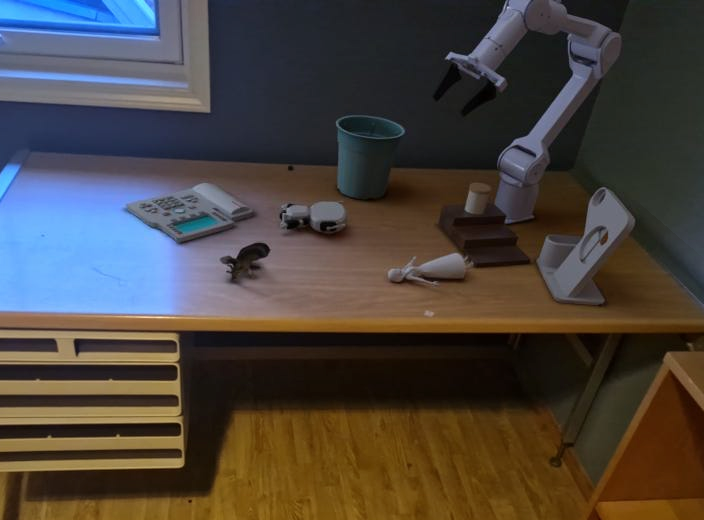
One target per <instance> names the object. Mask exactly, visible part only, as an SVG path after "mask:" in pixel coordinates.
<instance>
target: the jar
mask: <svg viewBox="0 0 704 520" xmlns="http://www.w3.org/2000/svg"><path fill="white" fill-rule="evenodd" d="M491 191H492V187H491V186H490V185H488V184H486V183H483V182H472V183H470V184H469V186H468V192H467V197H466V201H465V204H466V205H465V210H466V211H467V212H469V213H471V214H483V213H484V211H485V207H486V203H488V199H489V195H490V193H491Z"/></svg>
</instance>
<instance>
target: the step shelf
mask: <svg viewBox="0 0 704 520" xmlns="http://www.w3.org/2000/svg"><path fill="white" fill-rule="evenodd" d="M465 205H466V203H463V204H442V206H441V210H440V215H439V219H438V223H437V226H438V227H439V228H440V229H441V230H442V231H443V233H444V234H445V235H446V236H447V237H448V238H449V239H450V240H451V242H453V244H454V245H455V246H456V247H457V248H458V249H459V251H461V252H462V254H463V255H464V256H465V258H466V257H467V256H468V261H469V262H470V263H471V262H472V261H473V267H475V268H483V267H497V266H499V267H500V266H511V265H526V264H527V265H529V264H531V261H532V259H531V258H530V257H529V256H528V255H527V254H526V253H525V252H524V251H523V250H522V249H521V248H520V247H519V246H518V245H517V243H518V240H519V236H518V235H517V234H516V233H515V232H514V231H513V230H512V229H511V228H510V227H509V226H508V225H507V224H505V219H506V216H507V215H506V214H505V213H503V212H502V211H501V210H500V209H499V208H498V207H497V206H496V205H495V204H494V202H487V203H486V207H485V211H484V213H483V214H471V213H469V212H467V211H466V210H465Z"/></svg>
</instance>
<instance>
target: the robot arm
mask: <svg viewBox="0 0 704 520" xmlns="http://www.w3.org/2000/svg"><path fill="white" fill-rule="evenodd" d="M561 2H562V0H505V2H504V5H503V7H502V11H501V12H500V14H499V15H498V18H497V20H496V23H495V24H494V25H493V26H492V27H491V28H490V30H489V31H488V32H487V34H485V36H484V37H483V38H482V40H481V41H480V42H479V44H477V46H476V47H475V48H474V49H473V51H472V52H471V53H469V54H468V55H464V54H459V53H455V52H453V51H450V52H449V53H448V55H447V56H446V57H445V58H444V60H443V62H442V67H441V71H440V75H439V78H438V79H437V82H436V84H435V87H434V89H433V90H432V93H431V97H432V99H433V101H434V102H438V101H439V100H440V99H442V97H443V96H444V95H445V94H446V93H447V91H449V90H450V89H451V88H452V86H454V85H455V84H457V83H458V82H459V81H461V80H462V79H463V78H462V75H461V73H460V71H461V72H463V73H464V74H467V75H468V76H470V77H473V78H474V79H476V80H477V82H476V84H475V86H474V87H473V89H472V91H471V93H470V94H469V95H468V97H467V98H466V99H465V100H464V101H463V103H462V104H461V106H460V107H459V109H458V112H459V113H460V115H461V117H463V118H465V117H466V116H468V115H469V114H470V113H472V112H473V111H474V110H476V109H477V108H478V107H481V106H482V105H484V104H486V103H487V102H490V101H493V100H495V99H496V98H497V92H499V93H502V92H503V91H504V90H505V89H506V88H507V86H508V81H507V80H506V78H505V77H503V76H502V75H500V74H498V72H497V73H496V70H497V69H498V68H499V66H500V65H501V64H502V63H503V61H505V60H506V58H507V57H508V55H509V54H510V53H511V52H512V51H513V49H514V48H515V47H516V46H517V45H518V43H519V42H520V41H521V39H523V37H524V36H525V35H526V34H527V32H528V31H529V30H530V31H531V32H538V33H541V34H545V35H548V36H551V35H555V34H557V33H559V32H560V31H561V32H563V33H567V34H568V35H567V38H566V40H567V52H568V62H569V63H568V65H569V68H570V70H571V71H572V76H571V77H570V79H569V81H568V82H567V83H566V84H565V85H564V86H563V88H562V89H561V91H560V92H559V93H558V94H557V96H556V97H555V99H554V100H553V101H552V103H550V105H549V107H548V108H547V110H546V111H545V112H544V113H543V115H541V117H540V118H539V120H538V121H537V123H536V124H535V125H534V127H533V128H532V129H531V130H530V132H529V133H528V134H527V135H526V136H523V137H519V138H515V139H514V140H513V141H512V143H510V145H509V146H507V147H506V148H505V149H504V150H502V152H501V153H500V154H499V156H498V160H497V161H496V162H497V163H496V167H497V170H498V171H499V174H498V176H499V177H500V181H499V184H498V188H497V191H496V195H495V199H494V202H493V203H494V204H495V205H496V206H497V207H498V208H499V209H500V210H501V211H502V212H503V213H505V214H506V215H507V216H506V219H505V223H504V224H505V225H510V224H515V223H518V222H519V223H520V222H523V221H528V220H532V219H535V215H533V213H534V210H535V207H536V204H537V200H538V196H539V194H540V187H539V183H538V182H539V181H541V179H542V177H543V176H544V174H545V171H546V169H547V167H548V165H550V163H551V158H550V153H549V150H548V149H549V147H550V146H551V144H552V143H553V142H554V141H555V139H556V138H557V136H558V135H559V134H560V133H561V131H562V130H563V129H564V127H565V126H566V125H567V124H568V122H569V121H570V120H571V118H572V117H573V116H574V115H575V113H576V111H578V109H579V108H580V106H581V105H582V104H583V103H584V101H585V100H586V98H587V97H588V96H589V95H590V94H591V92H592V91H593V89H594V88H595V87H596V86H597V84H598V83H599V81H600V80H601V79H603V78H604V76H605V75H606V74H607V73H608V71H609V70H610V69H611V68H612V66H613V65H614V63H615V62H616V61H617V60H618V58H619V57H620V54H621V48H622V36H621V34H620V33H618V32H616V31H615V32H614V31H613V30H612V29H611V28H609V27H607V26H605V25H603V24H601V23H599V22H596V21H594V20H590V19H587V18H583V17H579V16H575V15H573V14H568V11H567V8H566V6H565V5H564V4H562V3H561Z"/></svg>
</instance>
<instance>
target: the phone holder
mask: <svg viewBox="0 0 704 520" xmlns="http://www.w3.org/2000/svg"><path fill="white" fill-rule="evenodd" d="M635 223H636V218H635V217H634V216H633V214H632V213H631V212H630V211H629V209H627V207H626V206H625V204H623V202H621V200H620V199H619V198H618V197H617V195H616V194H615V192H613V191H612V190H611V189H608V188H607V187H604V186H602V187H600V188H598V189H597V190H596V191H595V192H594V194H593V195H592V196H591V198H590V200H589V202H588V206H587V213H586V219H585V227H584V232H583V233H584V234H583V236H575V235H564V234H563V235H561V234H548V235H547V236H546V237H545V240H544V243H543V246H542V248H541V252H540V255H539V257H537V258H536V261H535V264H536V266H537V267H538V269H539V271H540V274H541V275H542V278H543V279H544V281H545V283H546V285H547V287H548V290H549V292H550V293H551V295H552V297H553V299H554V300H555V301H556V302H558V303H561V304H562V303H563V304H575V305H587V306H599V305H601V306H603V305H604V304H605V298H604V296H603V295H602V293H601V291H600V290H599V288H598V286H597V285H596V283H595V282H594V279H593V277H594V276H595V275H596V274H597V273H598V272H599V271H600V269H601V268H602V267H603V266H604V264H605V263H606V262H607V261H608V260H609V259H610V258H611V256H612V255H613V253H615V251H616V250H617V249H618V247H620V245H621V244H622V243H623V242H624V241H625V239H626V238H627V237H628V236H629V234H630V233H631V232H632V231H633V229H634V227H635V225H636V224H635ZM606 234H607V240H606V242H605V243H603V244H601V242H602V240H603V238H604V237H605V235H606Z"/></svg>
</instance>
